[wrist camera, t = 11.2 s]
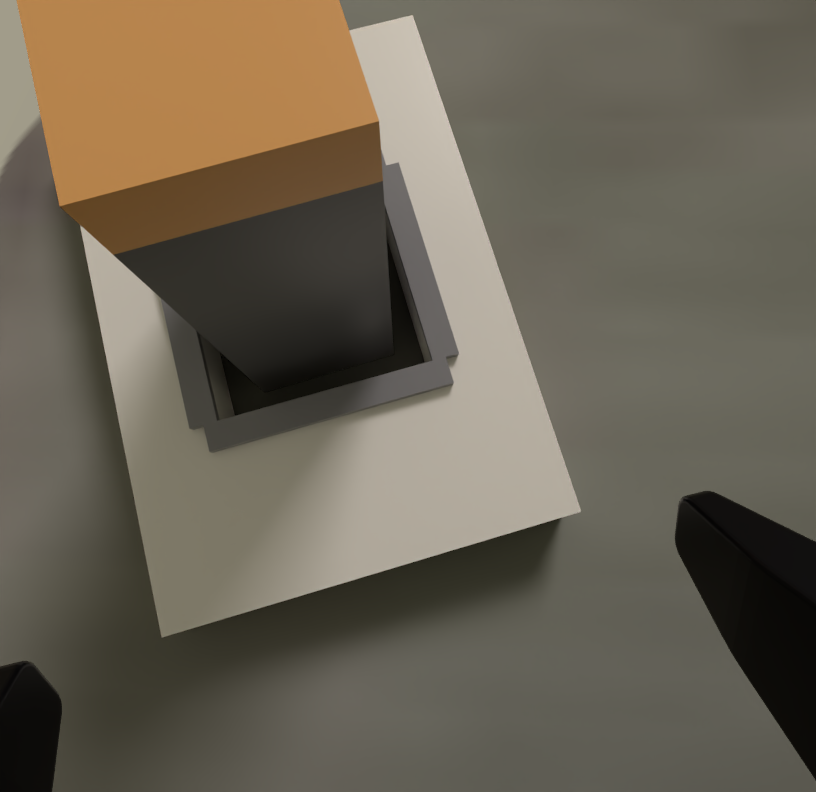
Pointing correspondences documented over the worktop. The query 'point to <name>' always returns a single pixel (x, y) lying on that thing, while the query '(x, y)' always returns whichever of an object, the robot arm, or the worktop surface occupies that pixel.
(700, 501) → the robot arm
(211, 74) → the plug
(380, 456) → the socket plate
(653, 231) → the worktop surface
